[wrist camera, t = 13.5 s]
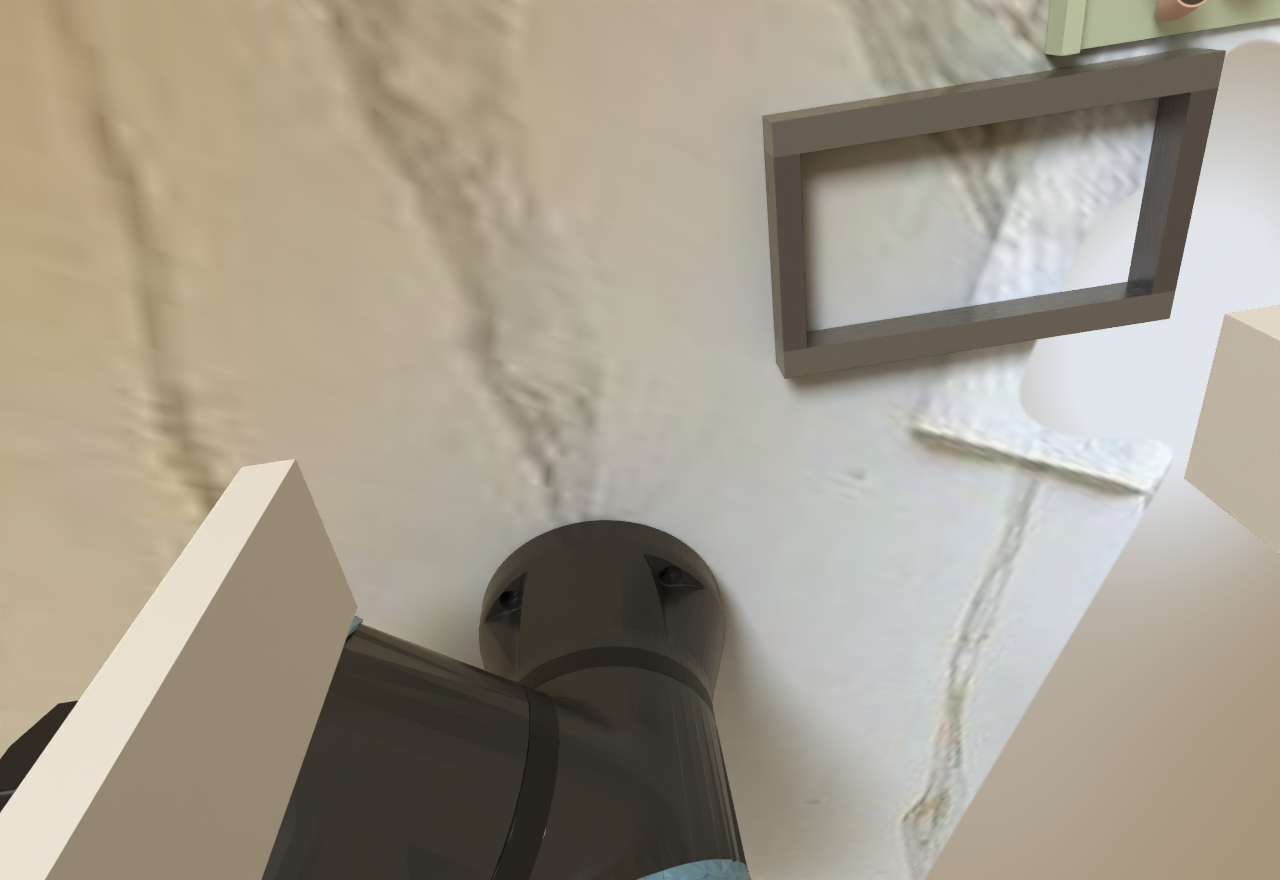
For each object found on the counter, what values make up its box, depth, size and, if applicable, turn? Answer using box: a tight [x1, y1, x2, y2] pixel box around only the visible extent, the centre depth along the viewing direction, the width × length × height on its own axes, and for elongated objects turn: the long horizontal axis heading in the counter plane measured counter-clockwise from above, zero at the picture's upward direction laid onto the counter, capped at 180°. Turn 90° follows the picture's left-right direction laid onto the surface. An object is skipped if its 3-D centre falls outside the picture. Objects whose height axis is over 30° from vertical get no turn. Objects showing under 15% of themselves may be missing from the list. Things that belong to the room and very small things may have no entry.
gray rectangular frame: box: [762, 48, 1226, 379], centre depth 38 cm, size 12×20×2 cm, turn 98°
